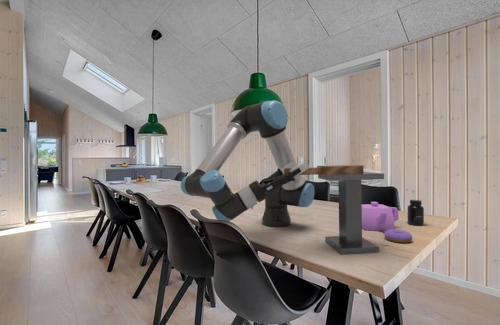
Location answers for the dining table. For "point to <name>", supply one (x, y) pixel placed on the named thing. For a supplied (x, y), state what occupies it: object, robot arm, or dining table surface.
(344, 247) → the pedestal
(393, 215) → the teakettle
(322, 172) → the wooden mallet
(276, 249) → the dining table surface
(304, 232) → the dining table surface
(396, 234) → the donut
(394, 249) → the dining table surface
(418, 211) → the supplement bottle
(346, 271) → the dining table surface
